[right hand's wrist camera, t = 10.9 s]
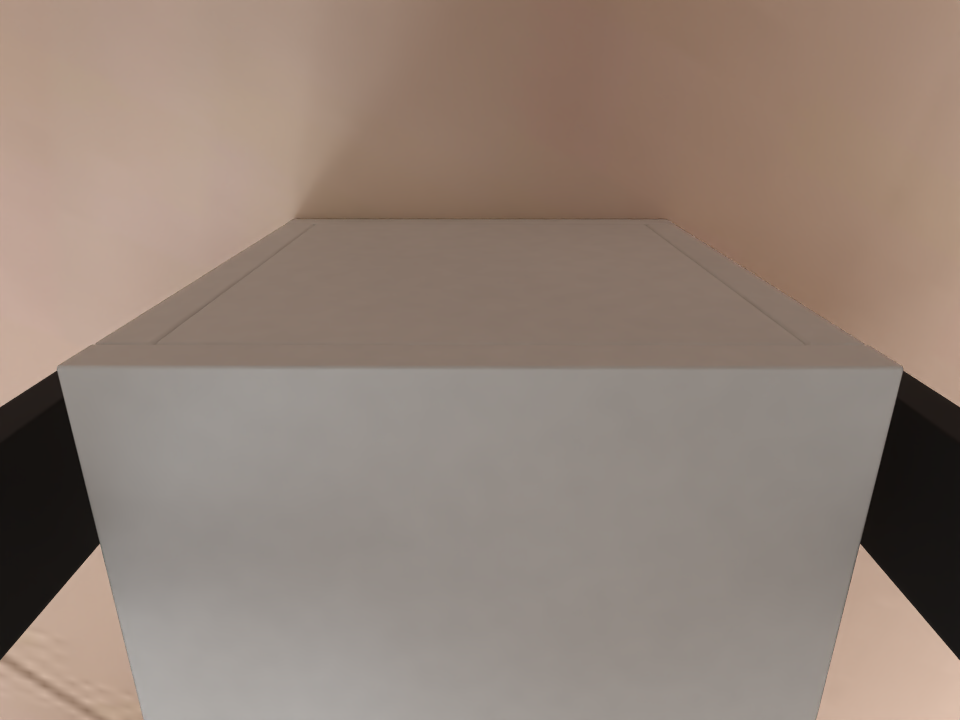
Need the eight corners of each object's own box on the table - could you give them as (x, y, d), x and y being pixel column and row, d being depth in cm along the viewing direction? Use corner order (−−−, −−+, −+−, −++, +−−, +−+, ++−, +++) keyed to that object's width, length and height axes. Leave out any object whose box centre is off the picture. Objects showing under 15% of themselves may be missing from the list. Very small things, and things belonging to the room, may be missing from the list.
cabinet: (611, 768, 26) (697, 1199, 16) (347, 767, 26) (261, 1198, 16) (668, 218, 18) (906, 366, 8) (292, 218, 18) (54, 365, 8)
